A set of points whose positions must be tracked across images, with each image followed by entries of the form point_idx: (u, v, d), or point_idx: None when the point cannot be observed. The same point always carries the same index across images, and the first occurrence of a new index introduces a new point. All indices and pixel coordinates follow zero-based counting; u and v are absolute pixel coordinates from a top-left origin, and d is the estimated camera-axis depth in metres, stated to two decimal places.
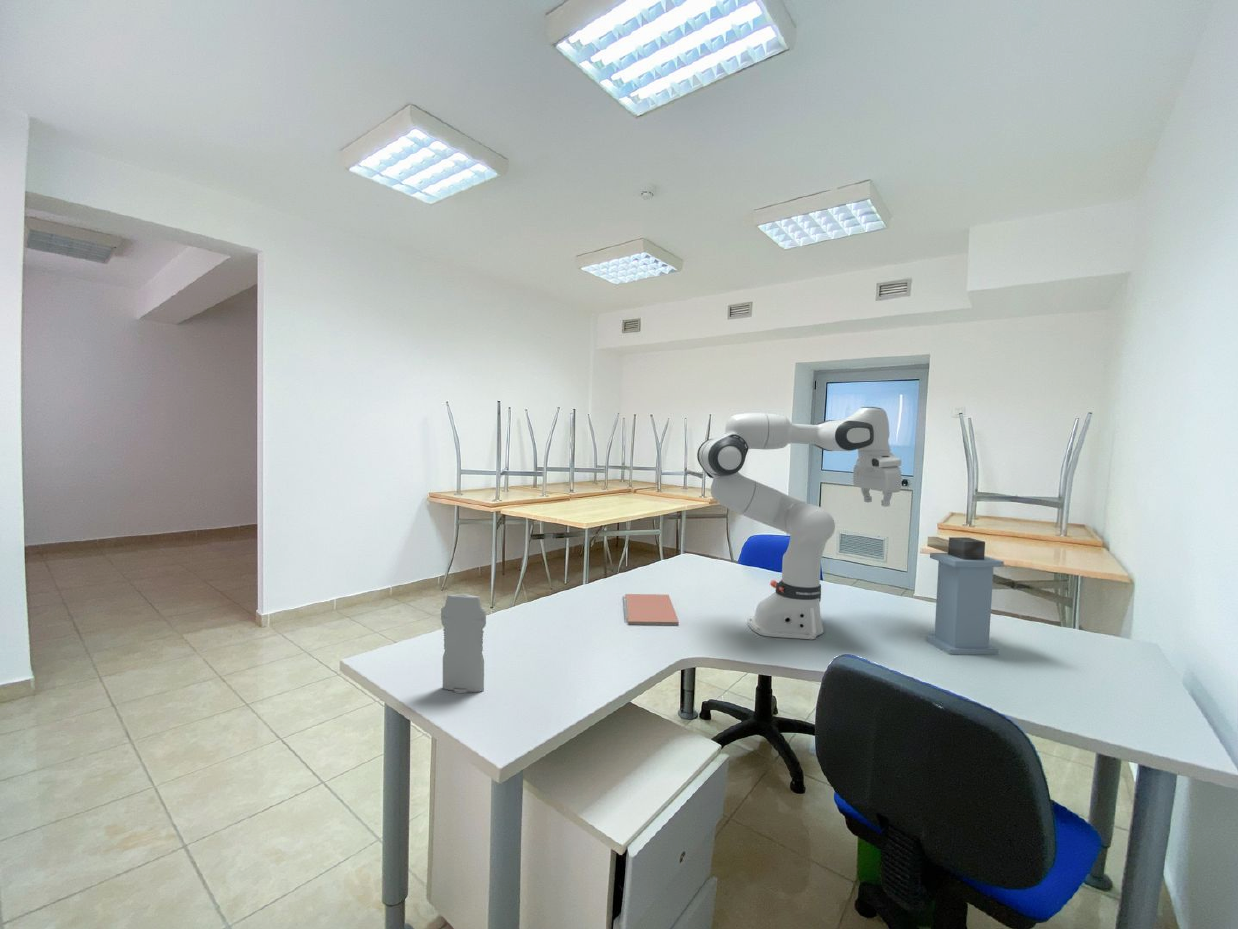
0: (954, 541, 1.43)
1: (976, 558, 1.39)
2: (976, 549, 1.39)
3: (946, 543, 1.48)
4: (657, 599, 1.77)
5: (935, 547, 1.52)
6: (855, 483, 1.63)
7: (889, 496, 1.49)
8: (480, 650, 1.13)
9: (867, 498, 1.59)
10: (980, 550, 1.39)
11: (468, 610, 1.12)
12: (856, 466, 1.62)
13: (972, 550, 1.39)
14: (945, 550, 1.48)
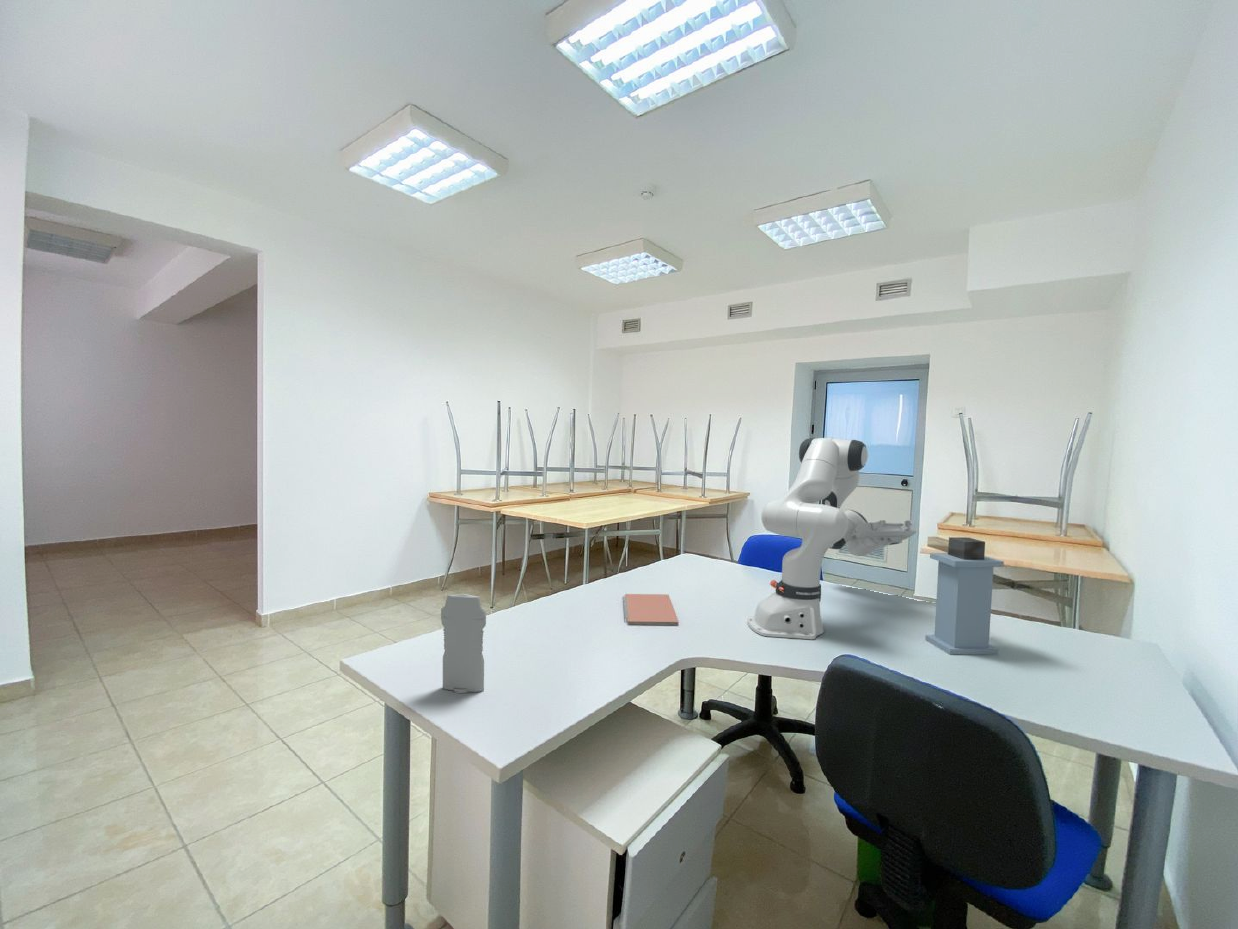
0: (954, 541, 1.43)
1: (976, 558, 1.39)
2: (976, 549, 1.39)
3: (946, 543, 1.48)
4: (657, 599, 1.77)
5: (935, 547, 1.52)
6: None
7: None
8: (480, 650, 1.13)
9: None
10: (980, 550, 1.39)
11: (468, 610, 1.12)
12: None
13: (972, 550, 1.39)
14: (945, 550, 1.48)
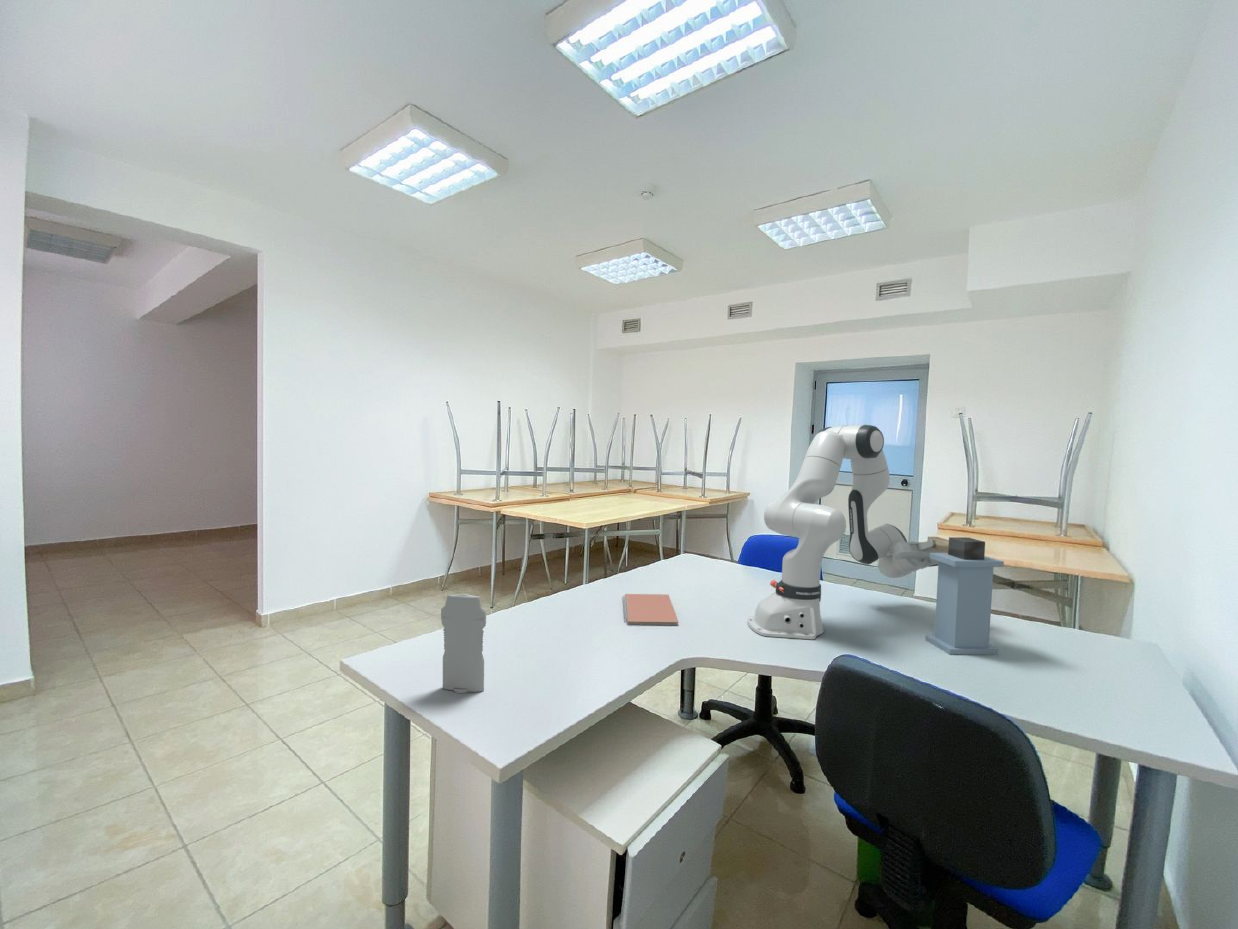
0: (954, 541, 1.43)
1: (976, 558, 1.39)
2: (976, 549, 1.39)
3: (946, 543, 1.48)
4: (657, 599, 1.77)
5: (935, 547, 1.52)
6: None
7: None
8: (480, 650, 1.13)
9: None
10: (980, 550, 1.39)
11: (469, 610, 1.12)
12: None
13: (972, 550, 1.39)
14: (945, 550, 1.48)
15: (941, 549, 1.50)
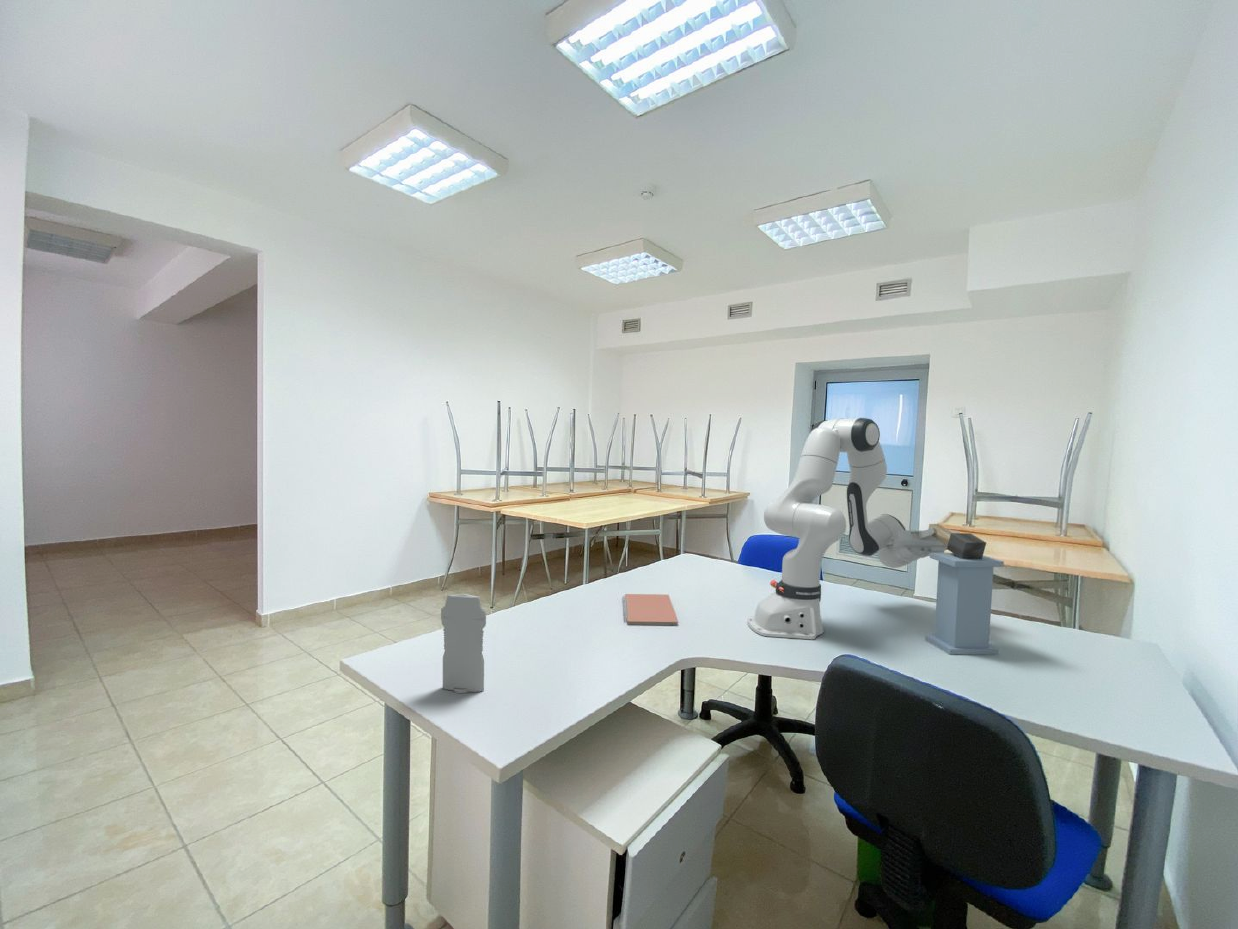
0: (955, 538, 1.42)
1: (974, 557, 1.40)
2: (976, 549, 1.39)
3: (946, 536, 1.48)
4: (657, 599, 1.77)
5: (935, 536, 1.52)
6: None
7: None
8: (480, 650, 1.13)
9: None
10: (979, 550, 1.39)
11: (469, 610, 1.12)
12: None
13: (972, 550, 1.39)
14: (944, 542, 1.48)
15: (941, 540, 1.50)
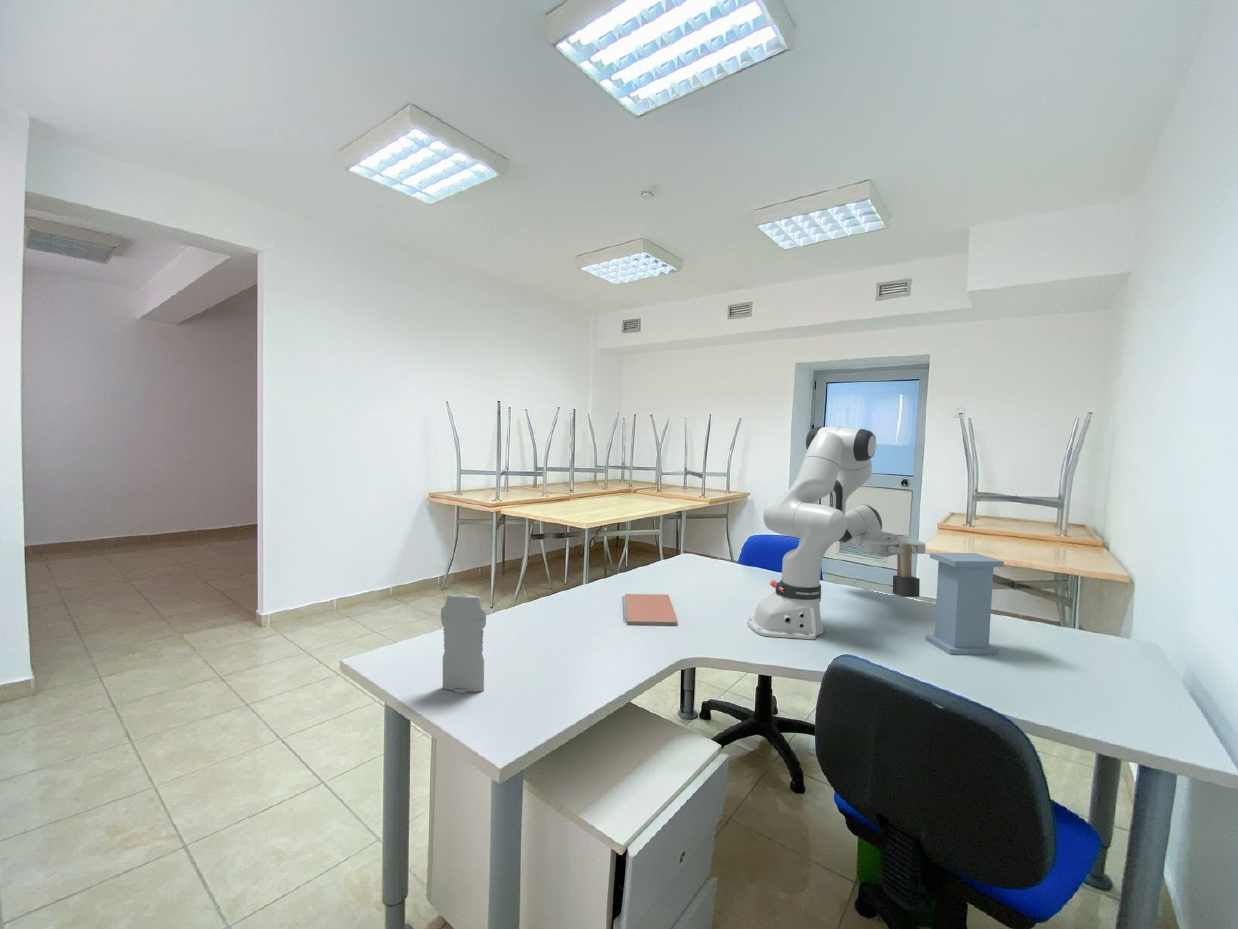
0: (900, 585, 1.66)
1: None
2: None
3: (902, 568, 1.68)
4: (657, 599, 1.77)
5: (898, 554, 1.71)
6: (873, 542, 1.73)
7: None
8: (480, 650, 1.13)
9: None
10: None
11: (469, 610, 1.12)
12: (868, 540, 1.79)
13: None
14: (898, 566, 1.70)
15: (898, 561, 1.71)
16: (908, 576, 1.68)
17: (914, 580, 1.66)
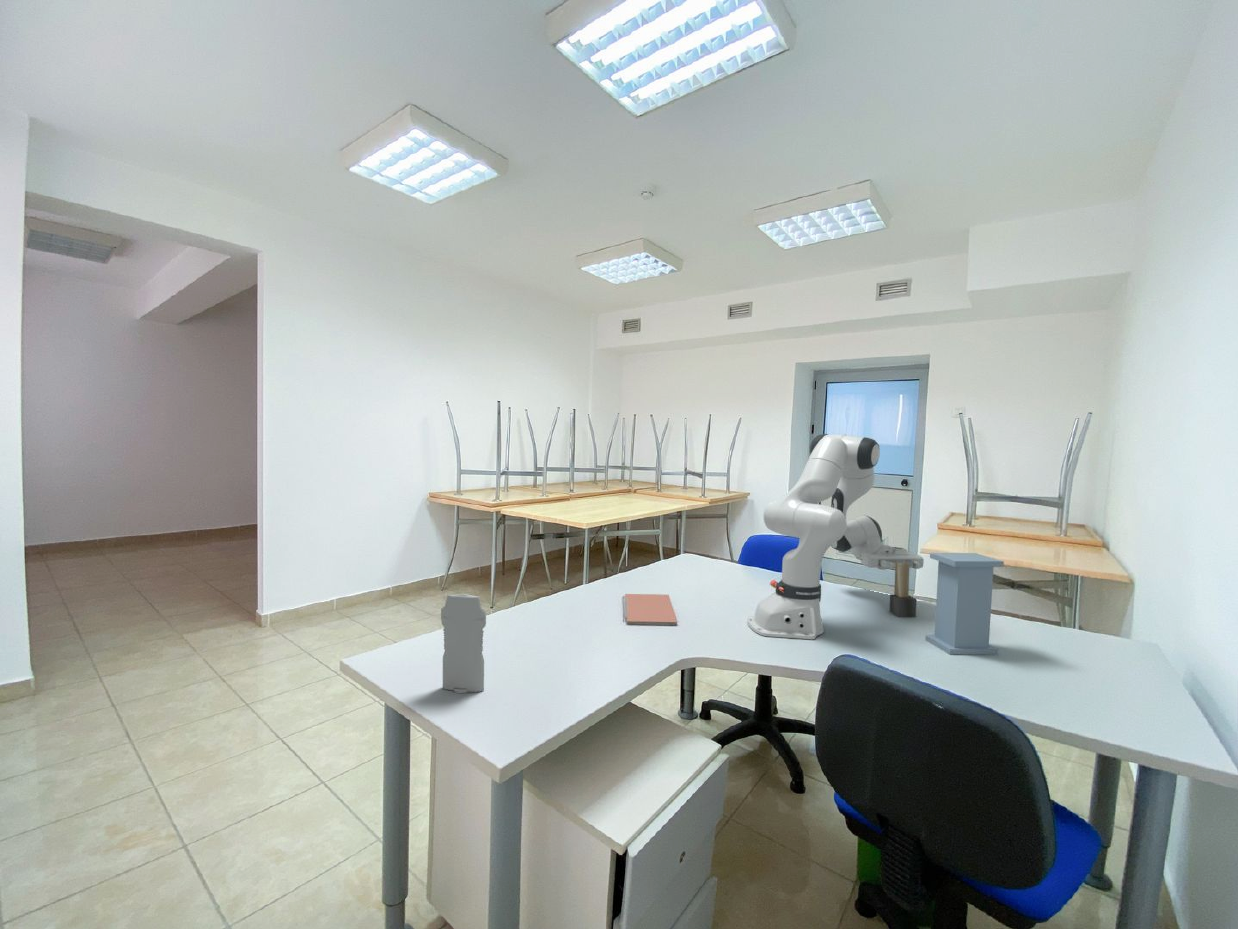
0: (897, 604, 1.68)
1: None
2: None
3: (899, 588, 1.69)
4: (657, 599, 1.77)
5: (895, 573, 1.71)
6: (872, 556, 1.74)
7: None
8: (480, 650, 1.13)
9: None
10: None
11: (468, 610, 1.12)
12: (866, 553, 1.79)
13: None
14: (895, 586, 1.72)
15: (895, 581, 1.72)
16: (905, 596, 1.69)
17: (911, 600, 1.67)
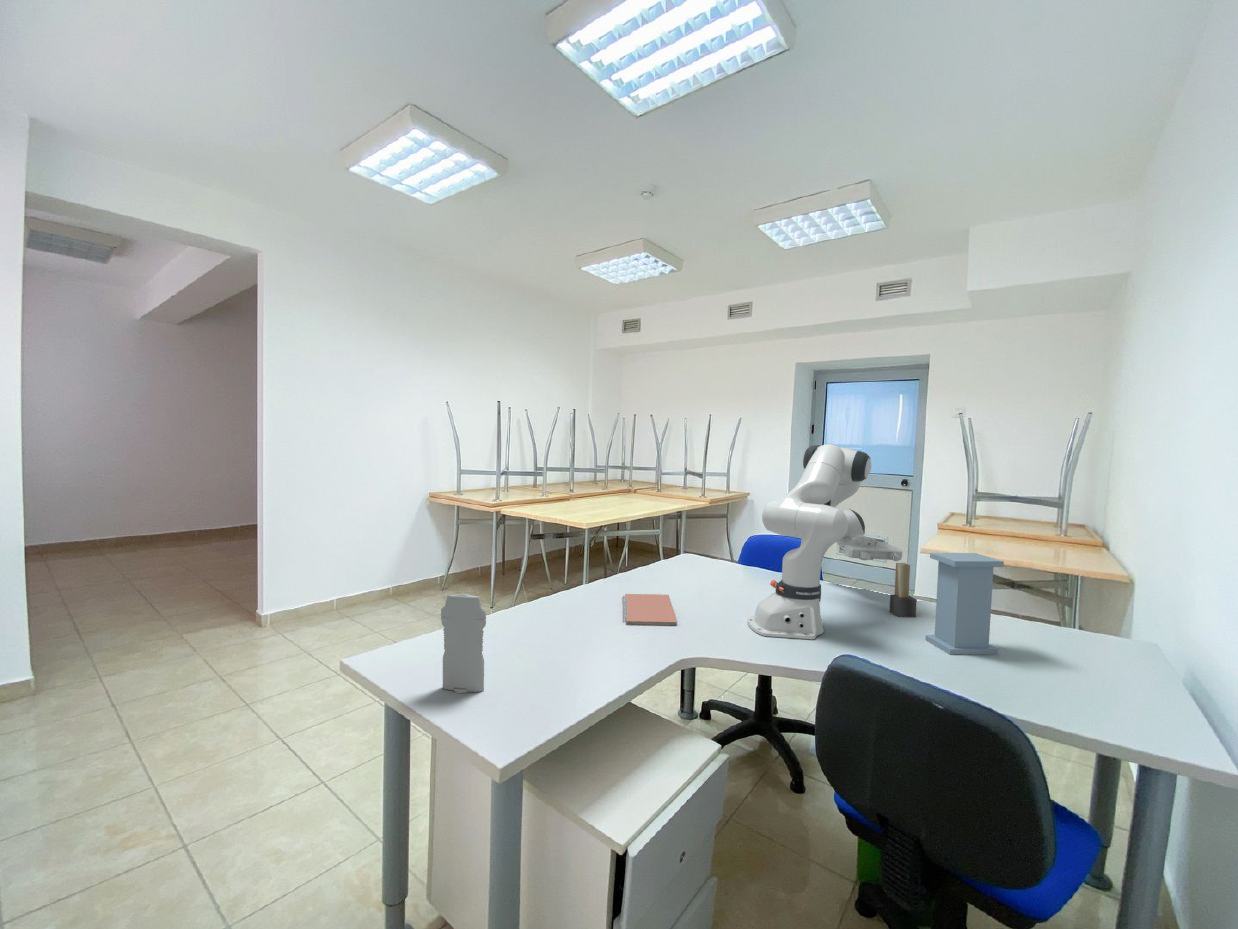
0: (897, 605, 1.68)
1: None
2: None
3: (899, 588, 1.69)
4: (657, 599, 1.77)
5: (896, 573, 1.71)
6: (854, 548, 1.85)
7: None
8: (480, 650, 1.13)
9: None
10: None
11: (468, 610, 1.12)
12: (849, 544, 1.91)
13: None
14: (895, 586, 1.71)
15: (895, 581, 1.71)
16: (905, 596, 1.69)
17: (911, 601, 1.67)
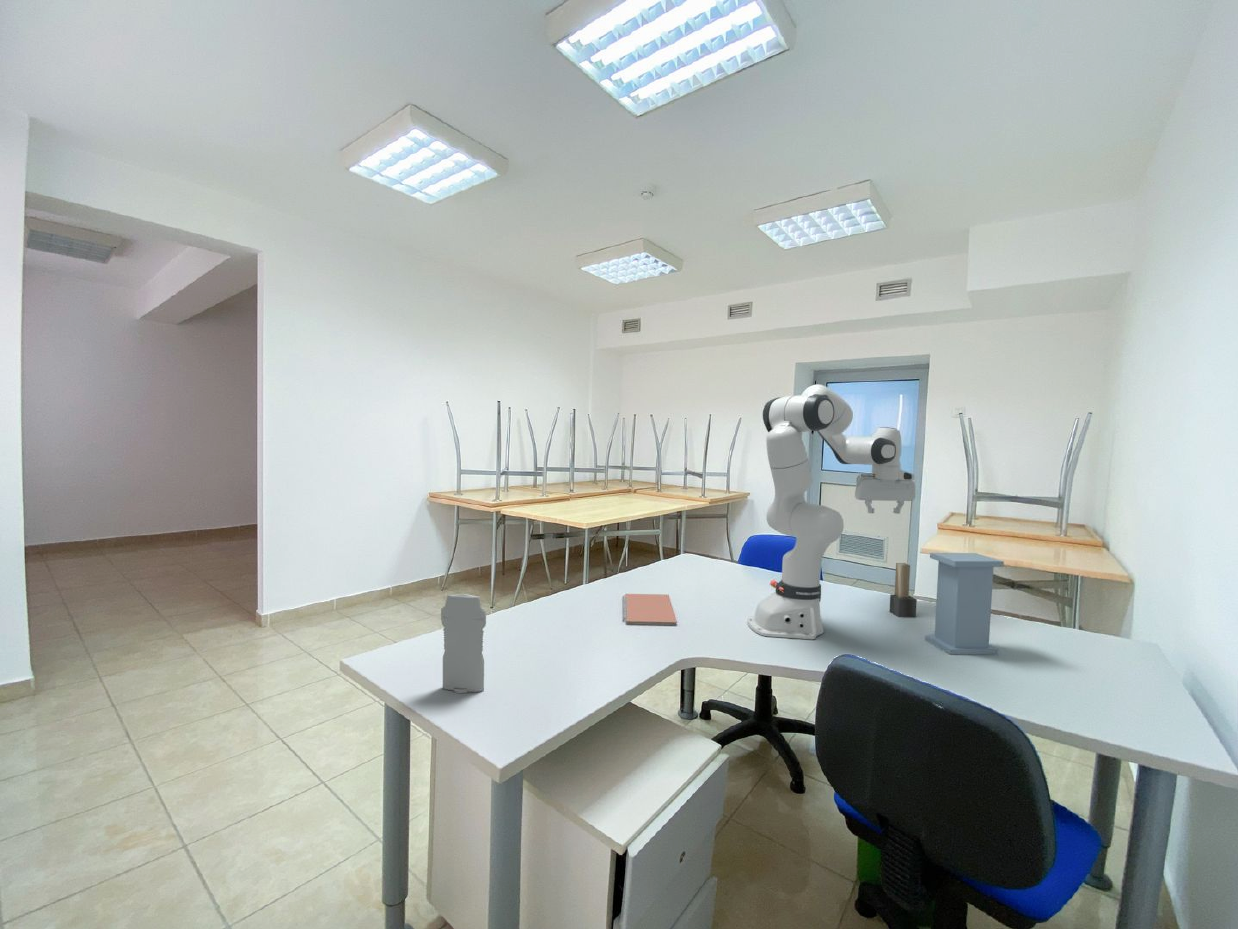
0: (897, 605, 1.68)
1: None
2: None
3: (899, 588, 1.69)
4: (657, 599, 1.77)
5: (896, 573, 1.71)
6: (864, 497, 1.74)
7: None
8: (480, 650, 1.13)
9: None
10: None
11: (469, 610, 1.12)
12: (868, 481, 1.74)
13: None
14: (895, 586, 1.71)
15: (895, 581, 1.71)
16: (905, 596, 1.69)
17: (911, 601, 1.67)
